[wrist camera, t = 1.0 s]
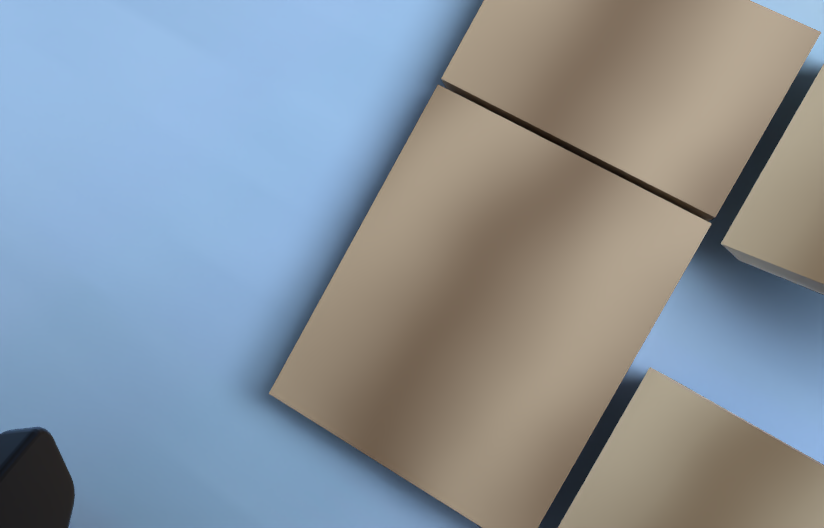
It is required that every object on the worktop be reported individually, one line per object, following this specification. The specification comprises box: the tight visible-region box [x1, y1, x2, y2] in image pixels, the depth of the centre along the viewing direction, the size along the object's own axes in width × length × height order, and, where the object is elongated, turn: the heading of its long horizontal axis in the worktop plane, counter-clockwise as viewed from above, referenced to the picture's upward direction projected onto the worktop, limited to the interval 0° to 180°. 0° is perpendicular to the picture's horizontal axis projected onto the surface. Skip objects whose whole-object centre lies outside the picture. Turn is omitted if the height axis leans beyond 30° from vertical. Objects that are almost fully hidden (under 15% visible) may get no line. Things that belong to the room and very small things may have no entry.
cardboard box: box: [269, 0, 821, 528], centre depth 23 cm, size 9×17×2 cm, turn 151°
